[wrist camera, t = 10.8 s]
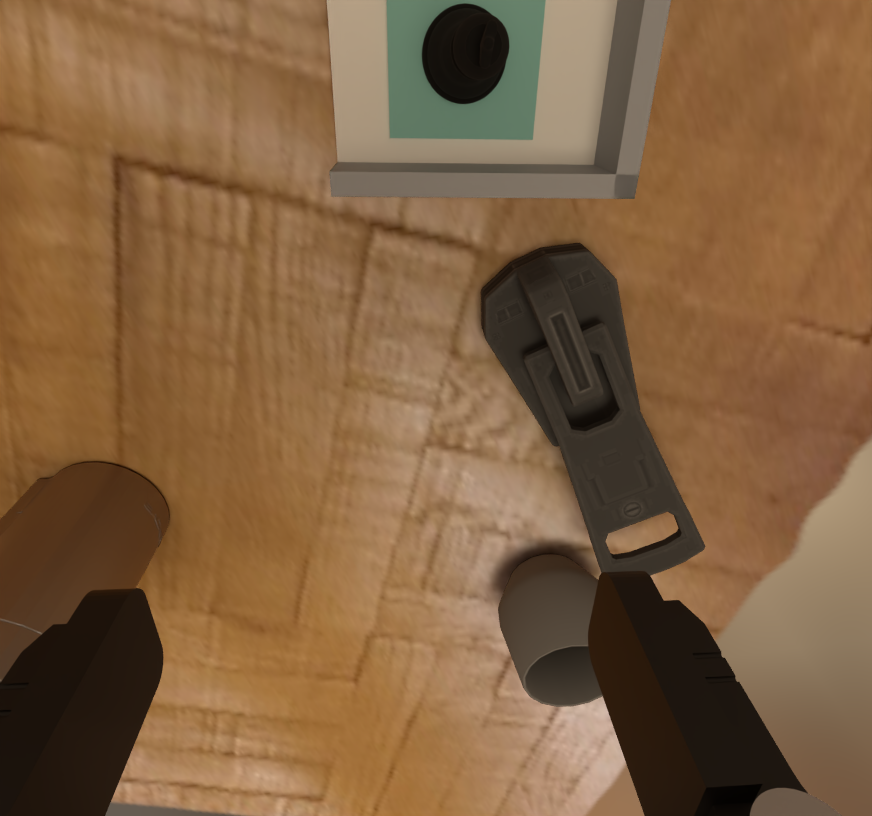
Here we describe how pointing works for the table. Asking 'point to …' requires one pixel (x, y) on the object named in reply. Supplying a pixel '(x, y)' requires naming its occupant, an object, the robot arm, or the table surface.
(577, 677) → the cup
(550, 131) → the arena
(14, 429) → the table surface
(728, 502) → the table surface
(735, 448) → the table surface
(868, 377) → the table surface
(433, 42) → the chess piece
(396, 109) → the pad
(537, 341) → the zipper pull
